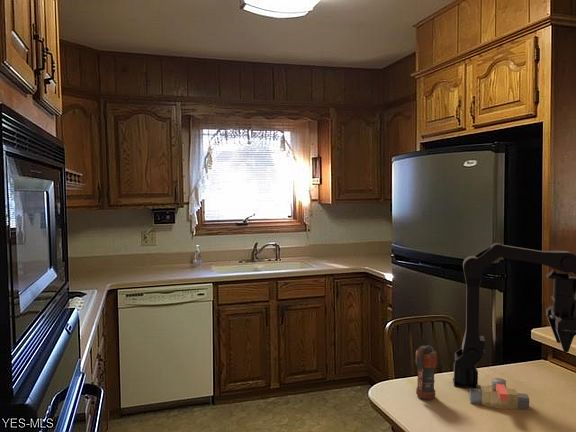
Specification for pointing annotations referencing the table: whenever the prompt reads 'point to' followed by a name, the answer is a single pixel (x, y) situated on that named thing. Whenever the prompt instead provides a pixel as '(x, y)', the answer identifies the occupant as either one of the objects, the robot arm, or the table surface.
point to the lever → (500, 388)
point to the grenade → (426, 372)
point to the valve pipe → (491, 398)
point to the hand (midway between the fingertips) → (562, 347)
